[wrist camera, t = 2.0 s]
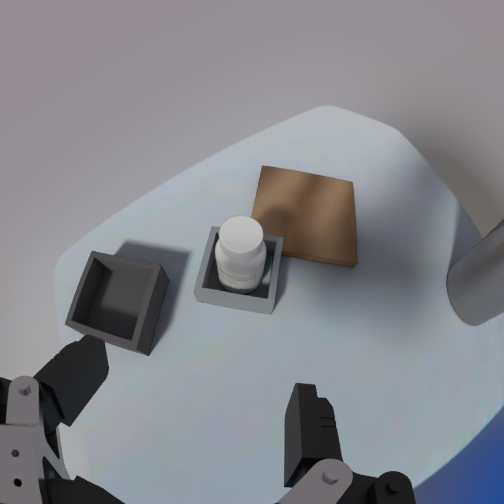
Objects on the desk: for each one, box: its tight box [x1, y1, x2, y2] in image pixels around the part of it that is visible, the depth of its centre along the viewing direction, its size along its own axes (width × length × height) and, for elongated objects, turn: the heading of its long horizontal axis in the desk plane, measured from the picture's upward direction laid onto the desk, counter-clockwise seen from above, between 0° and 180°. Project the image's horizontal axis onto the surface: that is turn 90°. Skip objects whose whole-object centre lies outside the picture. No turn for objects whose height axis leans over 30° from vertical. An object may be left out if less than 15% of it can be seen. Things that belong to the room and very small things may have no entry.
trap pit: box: [65, 251, 169, 356], centre depth 24 cm, size 8×8×4 cm
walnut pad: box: [251, 166, 357, 267], centre depth 32 cm, size 12×12×1 cm
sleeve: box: [194, 226, 283, 314], centre depth 27 cm, size 7×7×2 cm
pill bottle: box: [215, 216, 266, 294], centre depth 25 cm, size 4×4×8 cm
